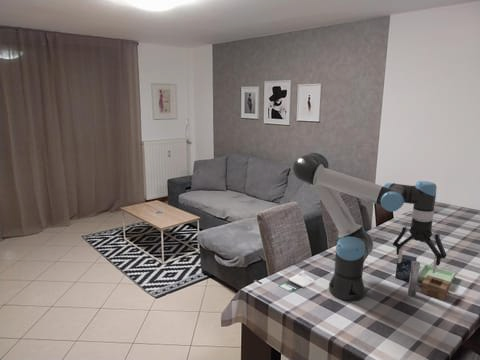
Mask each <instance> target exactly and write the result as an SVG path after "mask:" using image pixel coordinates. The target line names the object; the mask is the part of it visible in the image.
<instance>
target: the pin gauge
mask: <svg viewBox="0 0 480 360" xmlns="http://www.w3.org/2000/svg"><path fill="white" fill-rule="evenodd" d="M420 269H421V262H419V261H417V260H416V261H412V264H411V272H410V279H409V281H408V289H407V295H408V296H409V297H411V298H412V297H416V295H417V290H418V282H419V281H418V276H419V270H420Z"/></svg>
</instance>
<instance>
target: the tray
mask: <svg viewBox="0 0 480 360" xmlns="http://www.w3.org/2000/svg"><path fill="white" fill-rule="evenodd" d="M432 272H433V265H430V264H426V263H424V264H423V265H422V266H420V269H419V276H418V282H421V283H422V282H423V281H424V279H425V278H426V277H427V275H429V276H433V277H436V278H439V279H443V280H446V281H449V282H450V286H449V288H450V287H451V285H452V283H453V282H454V279H455V278H456V272H455V271H450V270H449V269H448V270H447V269H444V268H440V267H437V268H436V272H435V273H432Z"/></svg>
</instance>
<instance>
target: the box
mask: <svg viewBox="0 0 480 360" xmlns="http://www.w3.org/2000/svg"><path fill="white" fill-rule="evenodd" d="M412 261H417V257H416V256H412V255H408V254H404V253H402V261H401V262H400V263H398V259H397V261H396V269H395V274H394V275H395V276H394V278H395V279H399V280H404V281H408V282H409V279H410V272H411V264H412Z"/></svg>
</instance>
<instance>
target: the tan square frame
mask: <svg viewBox="0 0 480 360" xmlns="http://www.w3.org/2000/svg"><path fill="white" fill-rule="evenodd" d="M449 286H450V287H451V285H450V282H449V281H446V280H443V279H439V278H436V277H433V276H429V275H427V277H426V278H425V279H424V281H423V282H421V288H420V289H421V290H420V293H421V294H423V295H427V296H430V297H433V298H434V299H435V298H436V299H439V300H442V301H445V299H446V298H447V296H448V294H449V291H450V287H449Z"/></svg>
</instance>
